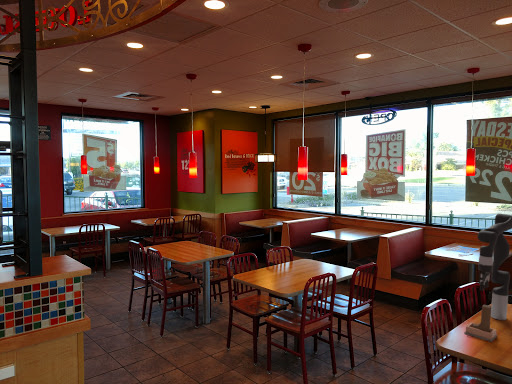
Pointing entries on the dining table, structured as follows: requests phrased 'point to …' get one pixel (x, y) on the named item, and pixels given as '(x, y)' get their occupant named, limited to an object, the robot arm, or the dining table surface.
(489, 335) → the block holder
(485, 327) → the wooden block
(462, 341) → the dining table surface
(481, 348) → the dining table surface
